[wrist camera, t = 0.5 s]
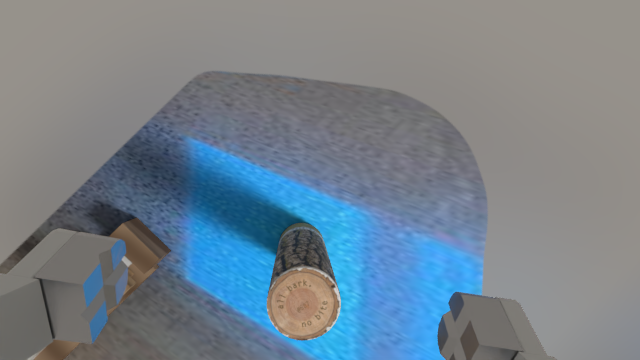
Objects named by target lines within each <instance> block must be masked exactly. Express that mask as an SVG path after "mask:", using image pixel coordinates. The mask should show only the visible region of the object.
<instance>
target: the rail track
mask: <svg viewBox="0 0 640 360" xmlns="http://www.w3.org/2000/svg"><path fill="white" fill-rule="evenodd" d="M109 237H112V238H118V239H122V240H123V241H125V246H126V254H125V255H124V257H123V258H122V261H123V262H124V263H125V264H126V265H127V267H128V269H130V270H131V271H132V272H133V273H134V274H133V275H132V276H131V278H132V279H133V280H134V281H135V282H136V283H135V284H134V285H133V286H132V287H131V288H130V289H129V290H128V291H127V292H126V293H125V294H124V295H123V296H122V298H121V300H120V301H119V303H118V305H117V306H115V307H113V308H111V309H110V310H108V311H107V317H108V316H109V315H110V314H111V313H112V312H113V311H114V310H115V309H116V308H117V307H118V306H119V305H120V304H121V303H122V302H123V301H124V300H125V299H126V298H127V297H128V296H129V295H130V294H131V293H132V292H133V291H135V290H136V289H137V288H138V287H139V286H140V285H141V284H142V283H143V282H144V281H145V280H146V279H147V278H148V277H149V276H150V275H151V274H152V273H153V272H154V271H155V270H156V269H157V268H158V267H159V266H158V265H157V264H158V263H159V262H160V261H161V260H162V259H163V258H164V257H165V256H166V255H167V254H168V253H169V252H170V251H171V250H170V249H169V248H168V247H167V246H166V245H165V244H164V243H163V242H162V241H161V240H160V239H159V238H158V237H157V236H156V235H155V234H153V233H152V232H151V231H150V230H149V229H148V228H147V227H146V226H145V225H144V224H143V223H142V222H141V221H140V220H139V219H138V218H135V219H132V220H129V221H127V222H124V223H122V224H121V225H120V226H119V227H118V228H117V229H116V230H115V231H114V232H113V233H112V234H111V235H110V236H109ZM79 344H80V342H71V341H63V340H54V339H53V342H52V343H50V344H49V345H47V346H46V347H45V348H43V349H42V350H40V351H39V352H37V353H36V354H34V355H33V356H31V357H30V358H28V359H27V360H63V359H64V358H65V357H66V356H67V355H68V354H69V353H70V352H71V351H72V350H74V349H75V348H76V347H77V346H78V345H79Z"/></svg>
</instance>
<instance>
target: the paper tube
mask: <svg viewBox="0 0 640 360" xmlns="http://www.w3.org/2000/svg"><path fill="white" fill-rule="evenodd" d="M340 308H341V299H340V293H339V289H338V286H337V283H336V280H335V276H334V273H333V270H332V266H331V263H330V260H329V257H328V253H327V250H326V247H325V244H324V241H323V238H322V235H321V233H320V232H319V231H318V230H317V229H316V228H315V227H314V226H312V225H310V224H307V223H296V224H293V225H291V226H289V227H288V228H287V229H286V230H285V231H284V232H283V233H282V235H281V237H280V241H279V245H278V249H277V254H276V259H275V264H274V268H273V273H272V278H271V283H270V287H269V292H268V297H267V311H268V315H269V318H270V320H271V322H272V324H273V325H274V327H275V328H276V329H277V330H278V331H279V332H280V333H282V334H283V335H285V336H287V337H289V338H292V339H296V340H311V339H315V338H317V337H320V336H322V335H323V334H325V333H326V332H327V331H329V330H330V329H331V328H332V326H333V325H334V324H335V322H336V320H337V318H338V316H339V313H340Z"/></svg>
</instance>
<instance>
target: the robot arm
mask: <svg viewBox="0 0 640 360" xmlns="http://www.w3.org/2000/svg"><path fill="white" fill-rule="evenodd" d="M125 254H126V246H125V241H123V240H122V239H118V238H112V237H107V236H101V235H96V234H90V233H84V232H76V231H71V230H66V229H60V228H59V229H56V230H53V231H51V232H50V233H49V234H48V235H47V236H46V237H45V238H44V239H43V240H42V241H41V242H40V243H39V244H38V245H37V246H36V247H34V248H33V249H32V250H31V251H30V252H29V253H28V254H27V255H26V256H25V257H24V258H23V259H22V260H21V261H20V262H19V263H18V264H17V265H16V266H15V267H13V268H12V269H11V270H10V271H9V272H8V273H7V274H1V273H0V360H27V359H28V358H30V357H31V356H33V355H34V354H36V353H37V352H39V351H40V350H42V349H43V348H45V347H46V346H47V345H49V344H50V343H52V342H53V339H54V340H63V341H71V342H80V343H88V344H93V342H94V341H95V339H96V338H97V336H98V335H99V333H100V331H101V330H102V328H103V327H104V325H105V324H106V322H107V311H108V310H110V309H111V308H113V307H115V306H117V305H118V303H119V301H120V300H121V298H122V296H123V294H124V291H125V288H126V285H127V280H128V267H127V265H126V264H125V263H124V262H123V261H122V258H123V257H124V255H125ZM449 306H450V309H451V311H449V312H447V313H446V314H444V315H443V316H442V318H441V321H440V323H439V328H438V346H439V350H440V354H441V355H442V356H443V357H444V358H445V359H446V360H556V359H555V358H554V357H551V356H547V354H546V352H545V351H544V349H543V347H542V345H541V343H540V341H539V339H538V337H537V335H536V334H535V332H534V330H533V328H532V326H531V324H530V322H529V320H528V318H527V317H526V315H525V313H524V311H523V309H522V307H521V305H520V304H519V303H518V302H517V301H516V300H511V299H504V298H497V297H495V298H493V297H488V296H481V295H474V294H468V293H461V292H455V293H454V294H453V295H452V296H451V299H450V301H449Z"/></svg>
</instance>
